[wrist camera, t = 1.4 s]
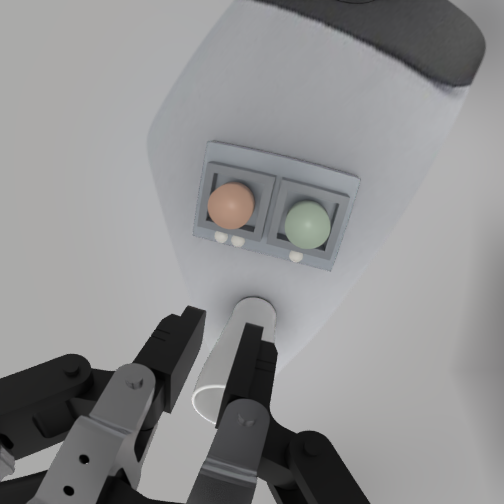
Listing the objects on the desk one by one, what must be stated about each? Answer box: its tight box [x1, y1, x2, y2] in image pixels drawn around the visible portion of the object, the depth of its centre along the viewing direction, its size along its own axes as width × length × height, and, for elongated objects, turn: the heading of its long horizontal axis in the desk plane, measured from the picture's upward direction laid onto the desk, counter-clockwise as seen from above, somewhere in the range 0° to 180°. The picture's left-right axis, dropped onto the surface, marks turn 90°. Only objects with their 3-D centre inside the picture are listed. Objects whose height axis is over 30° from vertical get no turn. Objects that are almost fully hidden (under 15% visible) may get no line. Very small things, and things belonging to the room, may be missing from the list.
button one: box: [285, 200, 331, 249], centre depth 26 cm, size 4×4×2 cm
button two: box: [208, 182, 255, 229], centre depth 27 cm, size 4×4×2 cm
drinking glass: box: [192, 297, 276, 424], centre depth 29 cm, size 7×7×15 cm
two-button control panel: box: [193, 141, 361, 272], centre depth 29 cm, size 10×15×4 cm, turn 78°
